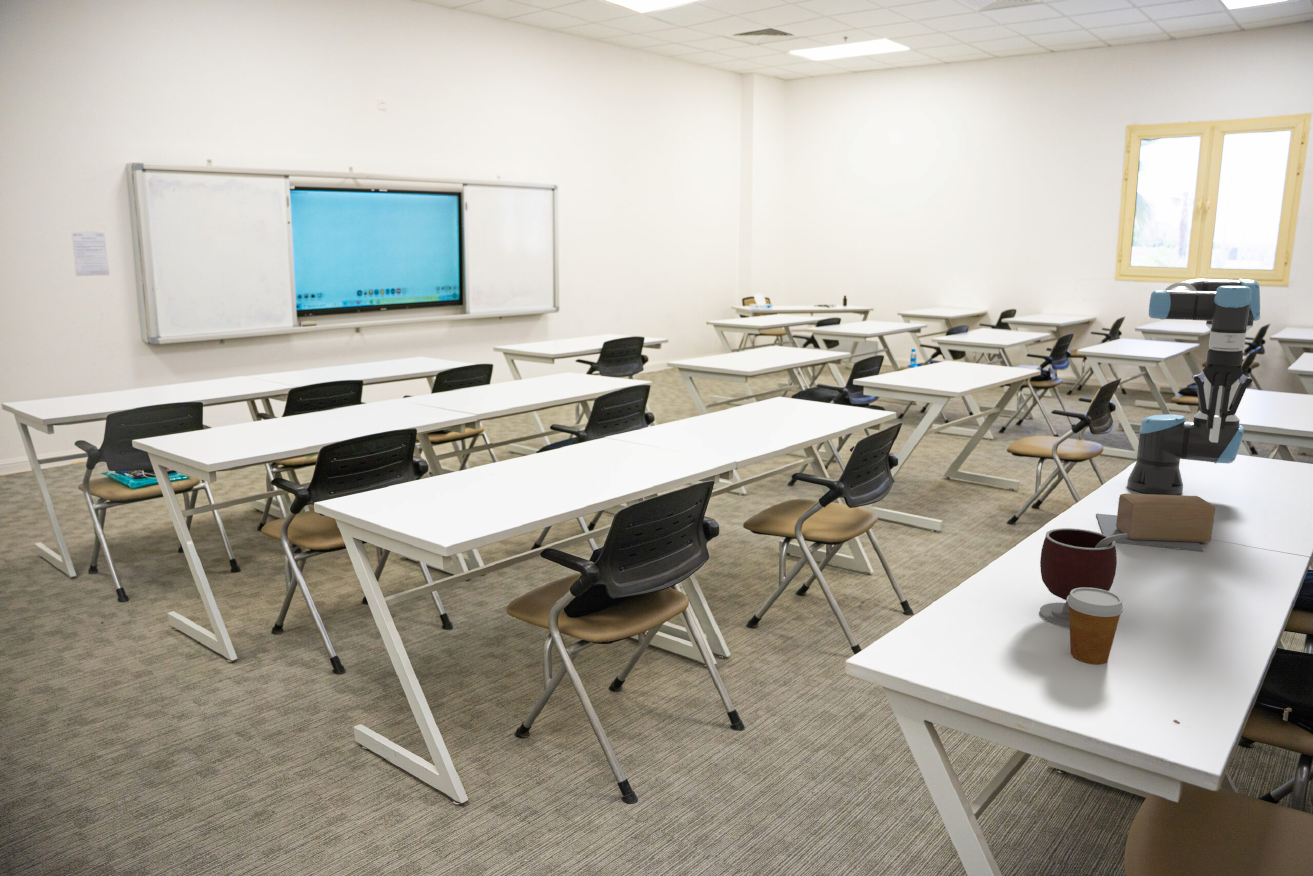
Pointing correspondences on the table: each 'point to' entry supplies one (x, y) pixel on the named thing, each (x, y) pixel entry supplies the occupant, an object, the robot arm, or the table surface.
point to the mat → (1110, 529)
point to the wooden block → (1165, 517)
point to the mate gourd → (1075, 566)
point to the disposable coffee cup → (1093, 623)
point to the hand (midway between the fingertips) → (1213, 441)
